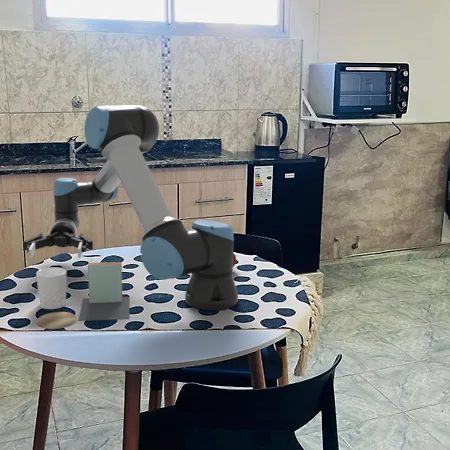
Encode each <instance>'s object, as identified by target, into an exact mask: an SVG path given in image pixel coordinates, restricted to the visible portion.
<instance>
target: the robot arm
mask: <svg viewBox="0 0 450 450" xmlns="http://www.w3.org/2000/svg"><path fill="white" fill-rule="evenodd" d="M83 130H84V137H85V142H86V144H87V145H88V147H90V148H92V149H93V150H99V152H100V153H101V156H102V157H103V158H104V159H105V160H106V162H105V164H104V165H103V166H102V168H101V170H100V171H99V172H98V173H97V174H96V176H95V178H94V179H93V180H92V181H85V182H78V180H77V179H76V178H74V177H60V178H57V179H55V180H54V182H53V200H54V201H53V202H54V224H53V225H52V229H51V230H50V233H49V234H48V235H46V236H45V235H44V234H43V233H38V234H37V235H36V236H34V237H31V238H29V239H26V240H25V241H22V250H23V251H26V252H27V253H28V258H29V259H33V257H34V255H35V253H36V250H40V249H43V248H47V247H49V248H51V247H54V246H55V247H56V246H57V247H59V248H67V247H73V248H76V249H77V258H79V259H80V258H82V254H83V253H86V252H87V250H93V249H94V244H93V243H94V242H93V240H92V239H90V238H89V237H87V236H86V235H85V233H79V234H78V235H77V232H78V230H79V227H80V219H79V206H83V205H85V206H86V205H90V204H97V203H107V202H110V201H114V200H115V199H116V198H117V197H118V191H119V190H118V186H119V185H120V183H121V184H122V187H123V188H124V191H125V193H126V196H127V197H128V200H129V201H130V203H131V206H132V208H133V210H134V211H135V214H136V216H137V218H138V221H139V223H140V225H141V227H142V229H143V231H144V232H143V234H142V236H141V240H142V243H141V245H140V249H139V253H141V255H140V259H141V262H142V264H143V266H144V268H145V270H146V271H147V273H148V274H150V276H152V277H153V278H155V279H158V280H161V281H165V280H169V279H170V280H171V279H172V280H173V279H178V278H179V277H182V276H185V275H190V274H191V275H190V279H189V281H188V283H187V284H188V285H187V286H186V290H185V295H184V296H185V297H184V301H185V303H186V305H188V306H189V307H191V308H194V309H198V310H204V311H222V310H227V309H230V308H233V307H234V306H237V304H238V302H239V301H238V300H239V293H238V289H237V286H236V283H235V280H234V275H233V273H234V272H233V270H234V269H233V268H234V267H233V253H234V248H235V247H234V246H235V245H234V244H235V237H234V228H233V227H232V226H231V225H230V224H228V223H225V222H220V221H216V220H206V219H199V220H198V219H196V220H193V221H192V223H191V229H186V227H185V226H184V224H183V222H182V220H181V219H179V218H175V217H174V215H173V213H172V211H171V210H170V208H169V206H168V204H167V201H166V200H165V197H164V196H163V194H162V192H161V189H160V188H159V186H158V184H157V182H156V179H155V178H154V175H153V174H152V172H151V169H150V168H149V165H148V163H147V162H146V159H145V158H144V157H145V156H144V155H143V154H144V153H148V152H149V151H150V150H151V149H152V147H154V145H155V144H156V143H157V140H158V139H159V134H160V124H159V121H158V118H157V116H156V115H155V113H154V112H153V111H152V110H151V109H149V108H148V107H146V106H143V105H138V104H132V105H130V104H129V105H128V104H127V105H105V104H104V105H100V106H94V107H92V108H90V110H89V111H88V112H87V115H86V118H85V121H84V129H83Z"/></svg>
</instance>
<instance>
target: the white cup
mask: <svg viewBox="0 0 450 450" xmlns="http://www.w3.org/2000/svg"><path fill="white" fill-rule="evenodd" d="M35 275H36V283H37V284H36V285H37V293H38V298H39V305H40V307H41V309H45V310H55V309H60V308H63V307H65V306H66V304H67V269H65V268H63V267H57V266H55V267H45V268H41V269H38V270H37V271H36V274H35Z"/></svg>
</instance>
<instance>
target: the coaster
mask: <svg viewBox="0 0 450 450" xmlns="http://www.w3.org/2000/svg"><path fill="white" fill-rule="evenodd" d="M77 321H78V317H77V316H76V315H75V314H74V313H72V312H68V311H67V312H66V311H56V312H49V313H45V314H43V315H41V316H39V317H38V318H37V319H36V325H37V326H38V327H40V328H43V329H48V330H49V329H50V330H57V329H64V328H68V327H70V326H73V325H74V324H75V323H77Z"/></svg>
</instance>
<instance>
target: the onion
mask: <svg viewBox="0 0 450 450" xmlns="http://www.w3.org/2000/svg"><path fill="white" fill-rule="evenodd" d="M236 263H237V255H235V253H234V252H233V268H234V267H235V266H236Z"/></svg>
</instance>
